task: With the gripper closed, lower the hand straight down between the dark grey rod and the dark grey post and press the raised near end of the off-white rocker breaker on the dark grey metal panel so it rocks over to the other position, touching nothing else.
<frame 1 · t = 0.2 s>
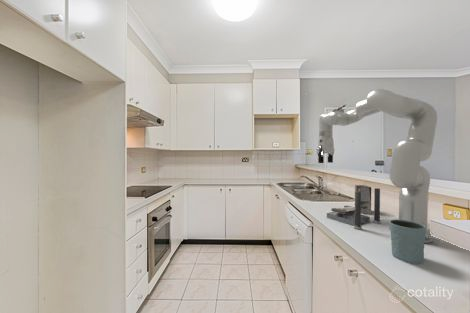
hand: (325, 162, 130), 31 cm above the worktop, fingers open, 9 cm apart
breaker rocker: (346, 209, 118), point 6 cm above the worktop, hinge at 16.0°
dark grey rod: (357, 228, 103), on the worktop
dark grey post: (376, 222, 111), on the worktop
coffee box: (362, 211, 133), on the worktop
teal green cup: (406, 257, 75), on the worktop
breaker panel: (347, 219, 117), on the worktop
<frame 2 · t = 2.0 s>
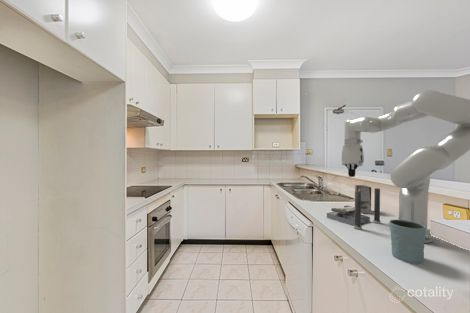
hand: (351, 176, 115), 24 cm above the worktop, fingers closed
nothing on the worktop moved.
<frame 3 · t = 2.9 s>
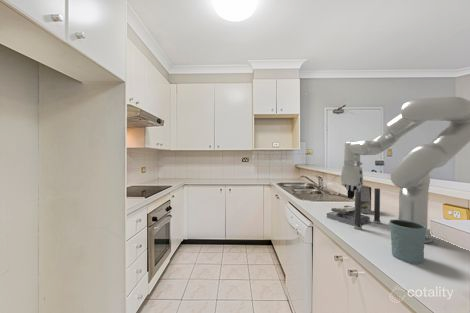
hand: (350, 197, 115), 12 cm above the worktop, fingers closed
nothing on the worktop moved.
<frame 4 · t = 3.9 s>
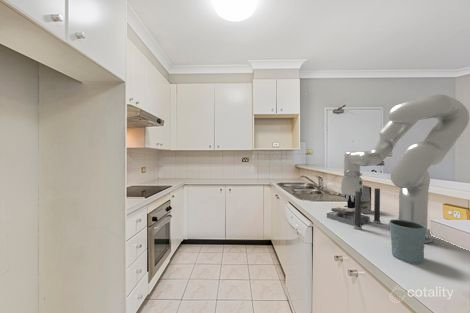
hand: (351, 208, 115), 7 cm above the worktop, fingers closed
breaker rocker: (346, 209, 118), point 6 cm above the worktop, hinge at 9.9°, touching gripper
everything else where it was.
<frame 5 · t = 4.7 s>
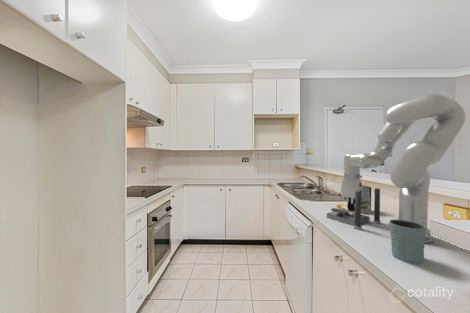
hand: (351, 210, 115), 6 cm above the worktop, fingers closed
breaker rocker: (346, 209, 118), point 6 cm above the worktop, hinge at -16.6°, touching gripper
everything else where it was.
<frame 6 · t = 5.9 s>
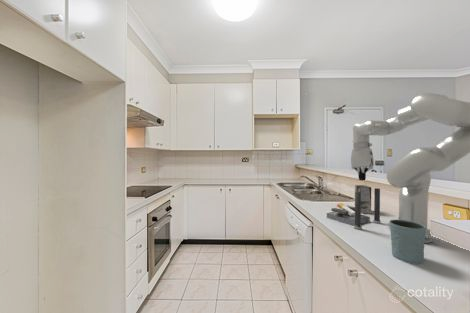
hand: (362, 180, 114), 22 cm above the worktop, fingers closed
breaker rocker: (346, 209, 118), point 6 cm above the worktop, hinge at -21.7°
everything else where it was.
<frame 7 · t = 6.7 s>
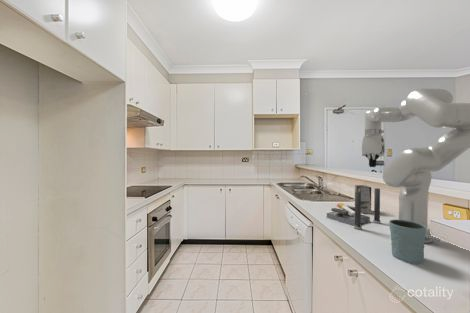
hand: (372, 166, 116), 29 cm above the worktop, fingers closed
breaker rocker: (346, 209, 118), point 6 cm above the worktop, hinge at -22.1°
everything else where it was.
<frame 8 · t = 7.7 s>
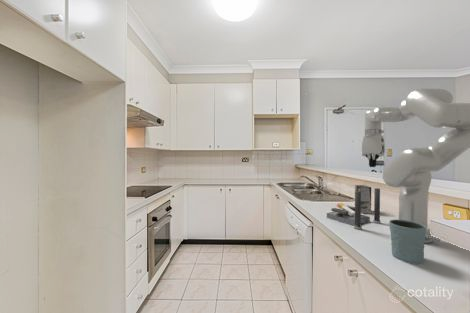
hand: (372, 166, 116), 29 cm above the worktop, fingers closed
nothing on the worktop moved.
at the end: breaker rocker at -22° (first picture: +16°) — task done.
